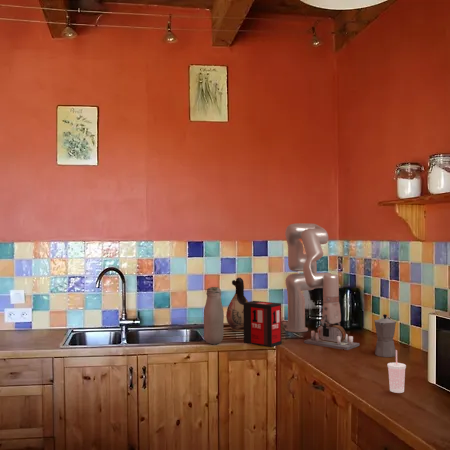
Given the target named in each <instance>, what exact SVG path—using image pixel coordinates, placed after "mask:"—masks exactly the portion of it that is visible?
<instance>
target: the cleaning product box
mask: <svg viewBox="0 0 450 450" xmlns="http://www.w3.org/2000/svg"><path fill="white" fill-rule="evenodd" d="M282 339H283V338H282V303H281V302H269V301H260V300H251V301H248V302H245V303H244V331H243V343H244V344H247V345H248V344H249V345H255V346H261V347H267V348H273V347H277V346H280V345H282Z"/></svg>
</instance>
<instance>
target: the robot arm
mask: <svg viewBox="0 0 450 450" xmlns="http://www.w3.org/2000/svg"><path fill="white" fill-rule="evenodd" d="M285 240H286V243H287V263H288V265H287V266H288V269H289V271H292V272H299V273H291V274H288V275H287V276H286V278H285V286H286V287H285V288H286V293H287V321H283V322H282V326H285V328H284V331H285V332H289V333H306V332H308V331H309V328H308V327H306V312H305V311H306V301H305V300H306V299H305V296H304V294H303V293H302V291H312V290H314V289H322V299H323V300H322V305H323V306H322V318H321V319H320V323H321V324H320V325H322V328H323V336H326V337H329V328H328V327H329V325H330V324H333V325H339V326H341V321H342V313H341V304H340V295H339V294H340V291H339V290H340V289H339V287H340V286H339V284H340V283H339V280H340V279H339V276H338V275H337V274H334V273H333V274H332V273H330V272H317V271H318V269H317V261H319V260H320V259H322V258H323V256H324V252H323V249H322V246H321V245H326V244H327V243H328V242H329V234H328V231H327V230H326V229H325V228H324V227H322V226H320V225H318V224H316V223H302V222H301V223H292V224H289V225H287V226H286V228H285ZM301 241H302V242H301ZM304 250H305V253H304ZM302 272H303V273H302ZM326 324H327V325H326Z"/></svg>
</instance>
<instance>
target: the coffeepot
mask: <svg viewBox="0 0 450 450" xmlns="http://www.w3.org/2000/svg"><path fill="white" fill-rule="evenodd" d="M382 317H383V318H379V319H375V320H374V329H375V333H376V336H377V339H376V345H375V350H374V354H375V356H377V357H382V358H396V346H395V341H394V337H395V333H396V332H395V331H396V326H397V325H396V324H397V322H396V321H395V319H394V320H393V319H391V317H387V314H382Z"/></svg>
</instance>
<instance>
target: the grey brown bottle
mask: <svg viewBox="0 0 450 450" xmlns="http://www.w3.org/2000/svg"><path fill="white" fill-rule="evenodd" d="M221 291H222V290H221V288H219V287H218V286H217V287H216V286H211V287H209V288H207V289H206V300H205V305H204V309H203V337H204V340H205V342H206V343H207V344H210V345H217V344H219V343H221V342H222V341H223V339H224V321H225V320H224V319H225V315H224V308H223V303H222V302H223V301H222V292H221Z"/></svg>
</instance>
